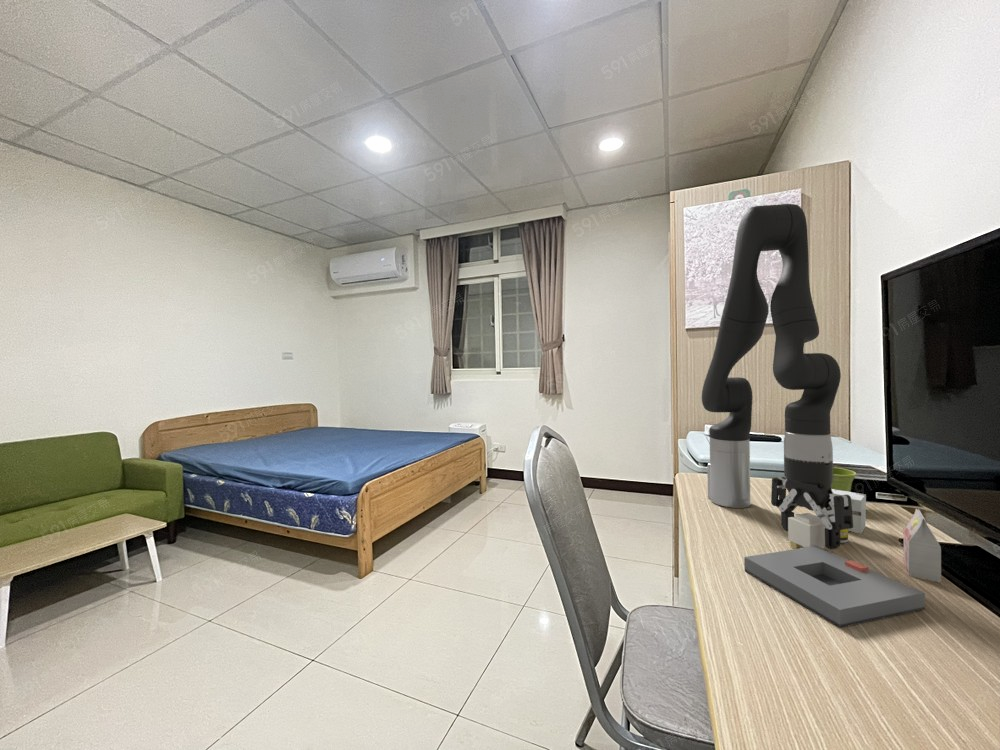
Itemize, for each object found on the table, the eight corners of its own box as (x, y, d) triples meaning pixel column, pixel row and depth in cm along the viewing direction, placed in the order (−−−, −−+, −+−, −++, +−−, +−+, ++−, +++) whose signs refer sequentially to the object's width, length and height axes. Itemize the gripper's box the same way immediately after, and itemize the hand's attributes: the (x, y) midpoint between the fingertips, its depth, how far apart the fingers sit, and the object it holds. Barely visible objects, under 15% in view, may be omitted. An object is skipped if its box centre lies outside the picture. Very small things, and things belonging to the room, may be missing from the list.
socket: (744, 570, 70) (744, 553, 70) (816, 559, 74) (815, 542, 74) (840, 627, 55) (839, 605, 55) (924, 609, 58) (924, 588, 58)
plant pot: (802, 502, 104) (802, 469, 104) (818, 495, 109) (818, 464, 109) (847, 512, 96) (847, 477, 96) (862, 505, 101) (862, 471, 101)
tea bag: (933, 566, 70) (932, 510, 70) (941, 582, 65) (940, 522, 65) (903, 560, 73) (903, 506, 73) (909, 575, 68) (908, 517, 67)
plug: (788, 547, 79) (788, 513, 79) (807, 544, 80) (807, 511, 80) (810, 557, 75) (809, 521, 74) (830, 554, 76) (829, 519, 76)
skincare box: (825, 526, 89) (825, 493, 89) (831, 519, 93) (831, 488, 93) (862, 534, 84) (861, 500, 84) (866, 526, 88) (866, 493, 88)
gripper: (760, 450, 83) (761, 527, 83) (830, 465, 69) (831, 558, 69) (789, 448, 85) (790, 523, 85) (863, 462, 71) (865, 552, 71)
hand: (809, 538), depth 77 cm, fingers open, 8 cm apart
